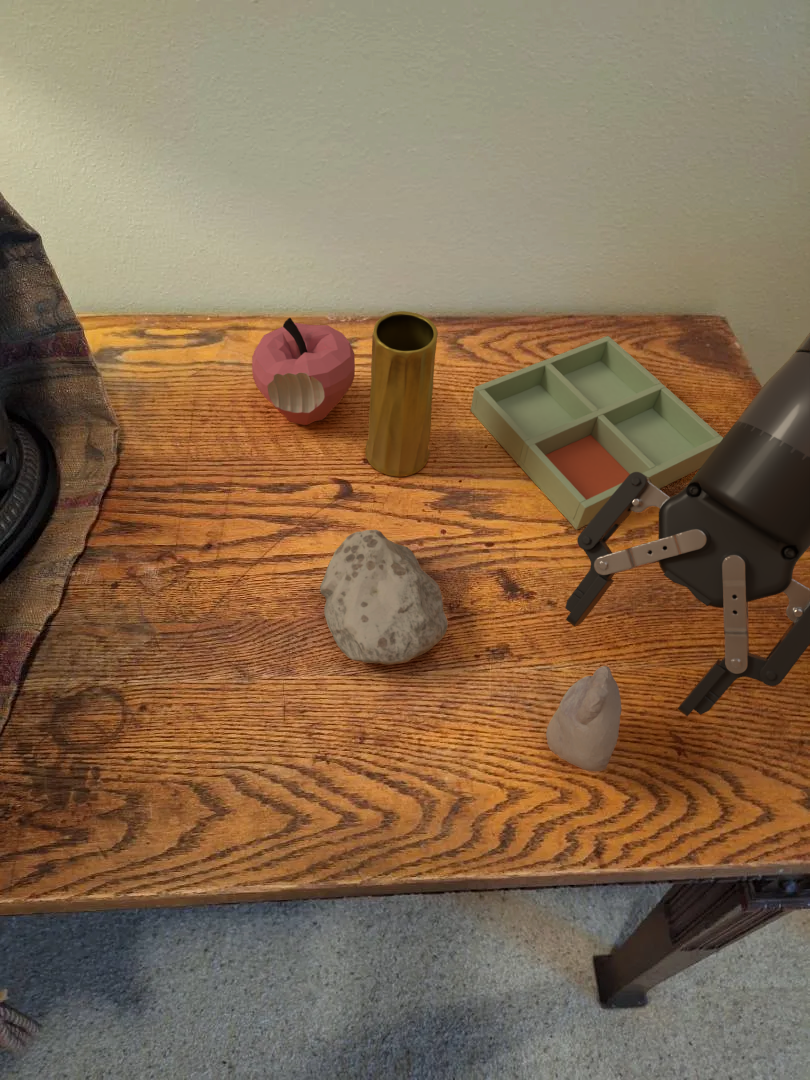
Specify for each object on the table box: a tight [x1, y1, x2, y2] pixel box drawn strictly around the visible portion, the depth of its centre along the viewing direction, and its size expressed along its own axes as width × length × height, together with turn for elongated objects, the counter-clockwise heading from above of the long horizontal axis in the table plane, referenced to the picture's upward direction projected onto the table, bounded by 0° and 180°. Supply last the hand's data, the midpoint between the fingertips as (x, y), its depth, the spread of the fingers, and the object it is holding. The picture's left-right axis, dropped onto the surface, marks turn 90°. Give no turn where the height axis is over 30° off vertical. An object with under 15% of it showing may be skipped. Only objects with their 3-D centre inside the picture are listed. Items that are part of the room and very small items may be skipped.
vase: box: [364, 310, 439, 478], centre depth 63 cm, size 6×6×14 cm
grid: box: [470, 335, 724, 531], centre depth 71 cm, size 17×17×3 cm
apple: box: [251, 317, 356, 426], centre depth 68 cm, size 10×9×10 cm
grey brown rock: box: [545, 665, 623, 773], centre depth 49 cm, size 6×4×10 cm, turn 0°
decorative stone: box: [319, 529, 449, 665], centre depth 57 cm, size 12×11×5 cm
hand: (626, 665), depth 46 cm, fingers open, 8 cm apart
